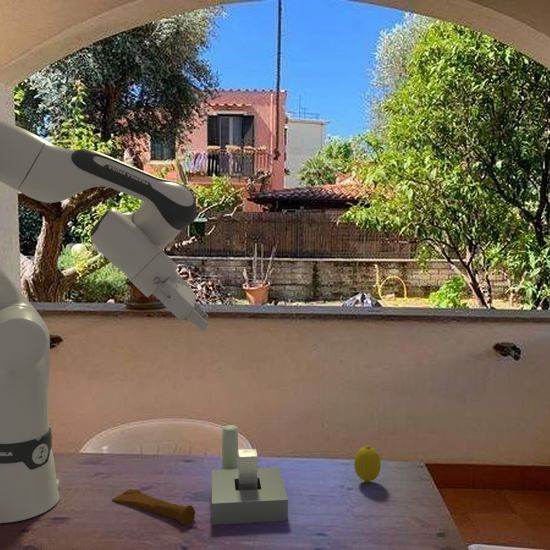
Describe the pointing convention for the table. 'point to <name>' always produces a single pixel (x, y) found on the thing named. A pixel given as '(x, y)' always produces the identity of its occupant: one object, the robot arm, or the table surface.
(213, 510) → the socket block
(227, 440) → the round bit
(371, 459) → the lemon
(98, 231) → the robot arm
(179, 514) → the primitive tool
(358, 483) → the table surface
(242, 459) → the square bit
